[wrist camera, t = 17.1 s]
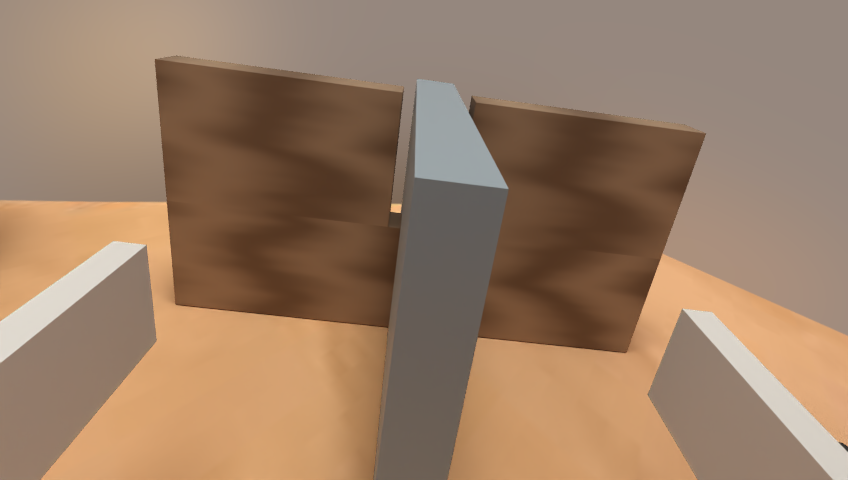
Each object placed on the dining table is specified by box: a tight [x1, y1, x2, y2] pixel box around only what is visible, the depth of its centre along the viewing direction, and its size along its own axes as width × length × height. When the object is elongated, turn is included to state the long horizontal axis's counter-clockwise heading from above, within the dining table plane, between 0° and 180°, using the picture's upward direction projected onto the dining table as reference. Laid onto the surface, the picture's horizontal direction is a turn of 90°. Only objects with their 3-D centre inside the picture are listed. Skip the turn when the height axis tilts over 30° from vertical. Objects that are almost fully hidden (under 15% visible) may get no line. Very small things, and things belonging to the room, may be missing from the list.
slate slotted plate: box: [373, 79, 509, 480], centre depth 21 cm, size 18×2×12 cm, turn 1°
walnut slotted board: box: [155, 56, 706, 352], centre depth 25 cm, size 24×2×12 cm, turn 90°
